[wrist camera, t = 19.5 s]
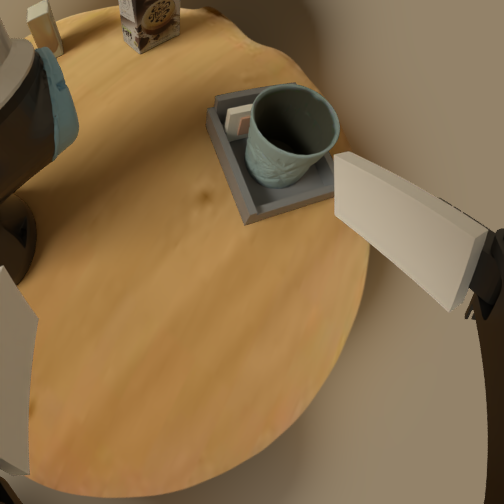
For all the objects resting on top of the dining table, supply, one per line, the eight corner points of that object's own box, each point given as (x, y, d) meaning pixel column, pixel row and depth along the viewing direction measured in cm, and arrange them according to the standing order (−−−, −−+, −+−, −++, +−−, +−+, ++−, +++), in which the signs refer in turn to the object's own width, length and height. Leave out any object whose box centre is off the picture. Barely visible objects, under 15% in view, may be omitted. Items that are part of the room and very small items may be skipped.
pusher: (295, 128, 45) (309, 102, 39) (225, 144, 43) (231, 116, 36) (291, 121, 46) (305, 95, 39) (222, 137, 43) (227, 108, 36)
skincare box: (43, 47, 43) (27, 7, 31) (62, 39, 44) (48, -3, 32) (44, 64, 42) (25, 22, 30) (64, 55, 43) (48, 11, 32)
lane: (332, 197, 46) (353, 178, 39) (244, 225, 42) (253, 208, 36) (288, 108, 48) (301, 81, 41) (205, 125, 44) (208, 97, 38)
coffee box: (140, 55, 46) (132, -15, 30) (123, 41, 46) (113, -25, 30) (181, 34, 48) (183, -33, 32) (162, 21, 48) (161, -42, 32)
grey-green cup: (315, 150, 45) (348, 106, 34) (294, 208, 43) (327, 172, 31) (253, 123, 45) (270, 71, 33) (226, 178, 42) (237, 132, 31)
